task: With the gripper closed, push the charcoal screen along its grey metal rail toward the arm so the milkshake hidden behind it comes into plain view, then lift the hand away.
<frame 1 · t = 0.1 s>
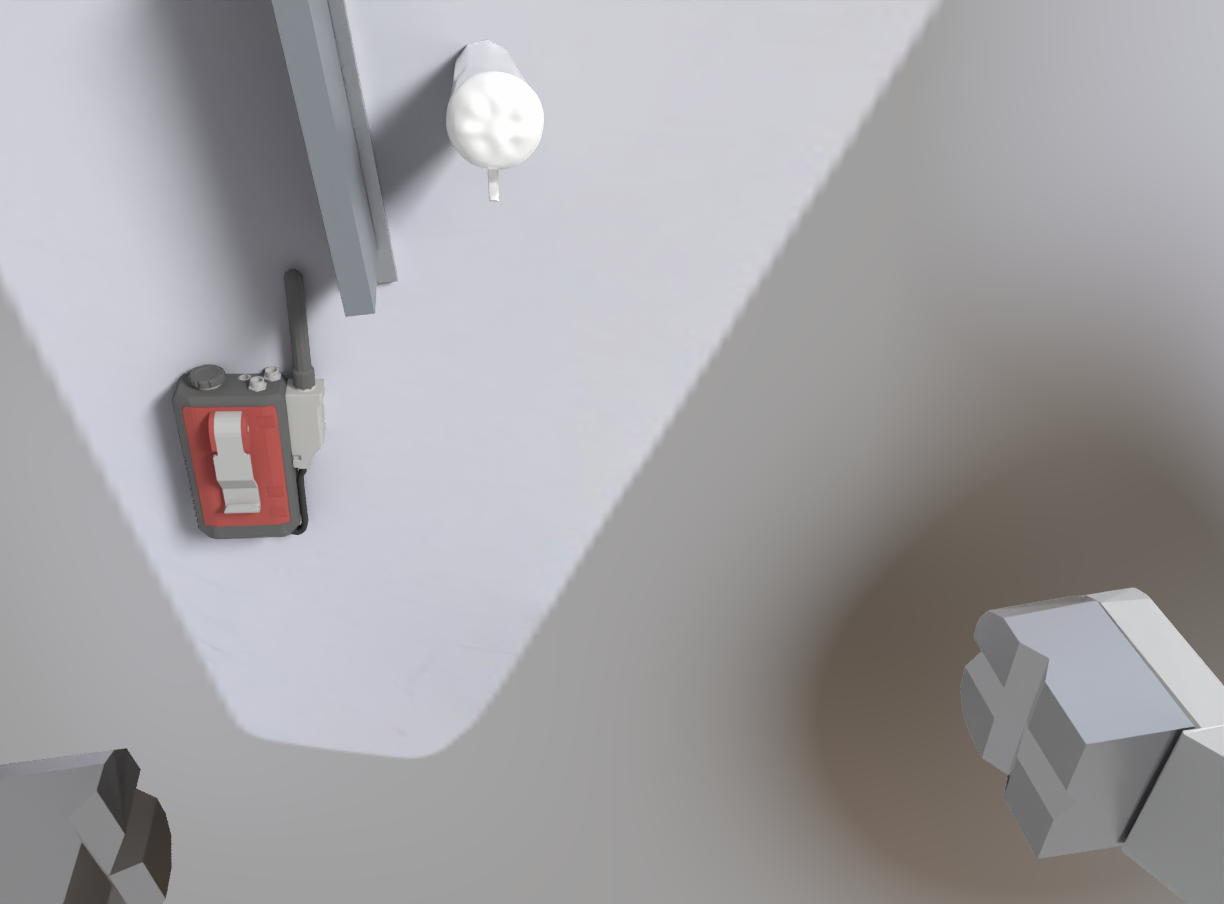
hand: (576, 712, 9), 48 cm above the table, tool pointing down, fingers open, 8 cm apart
screen: (322, 99, 47), point 4 cm above the table, slide at 0.0 cm
milkshake: (484, 78, 52), on the table
walkie-talkie: (255, 400, 62), on the table
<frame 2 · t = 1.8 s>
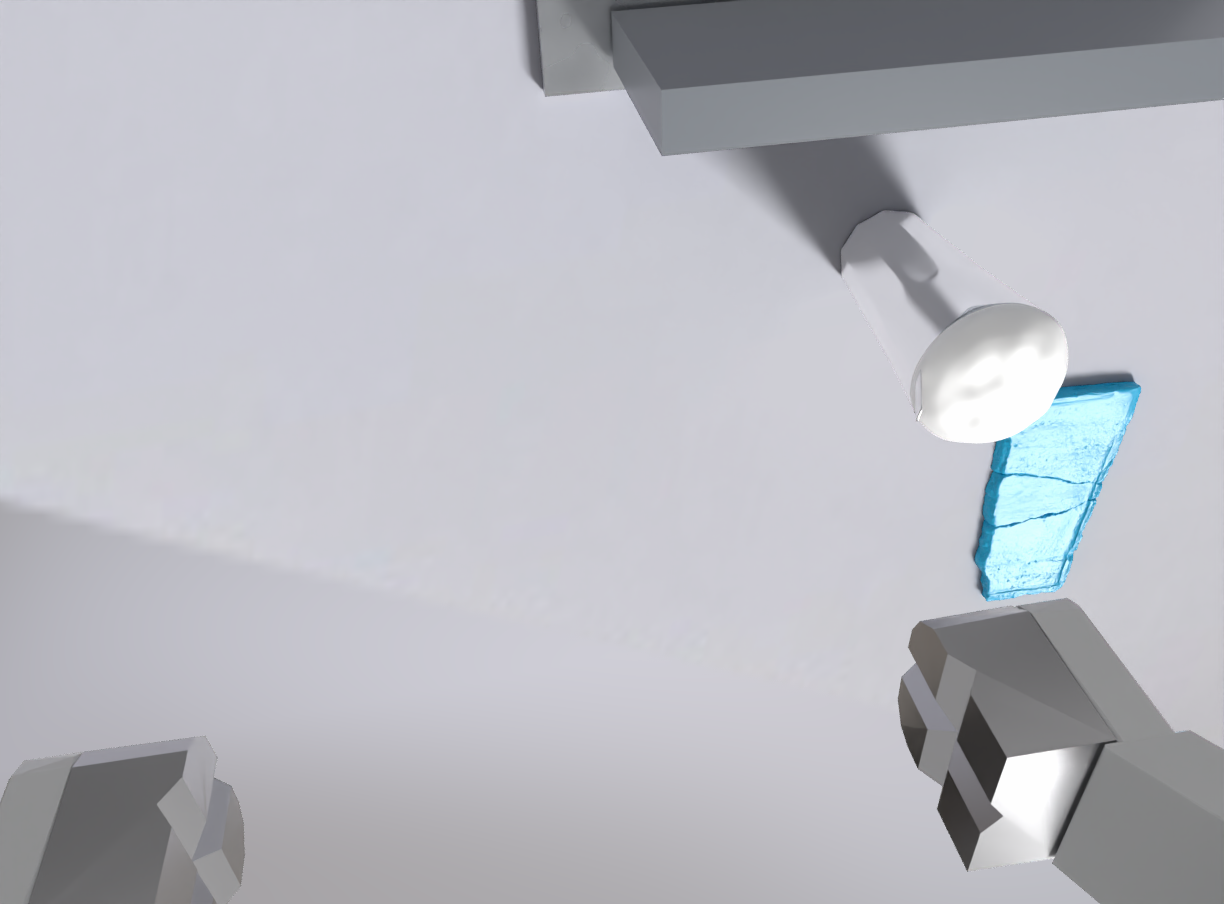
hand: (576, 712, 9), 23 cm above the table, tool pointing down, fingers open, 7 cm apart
screen: (1006, 42, 26), point 4 cm above the table, slide at 0.0 cm
milkshake: (870, 249, 34), on the table
sponge: (1025, 486, 43), on the table
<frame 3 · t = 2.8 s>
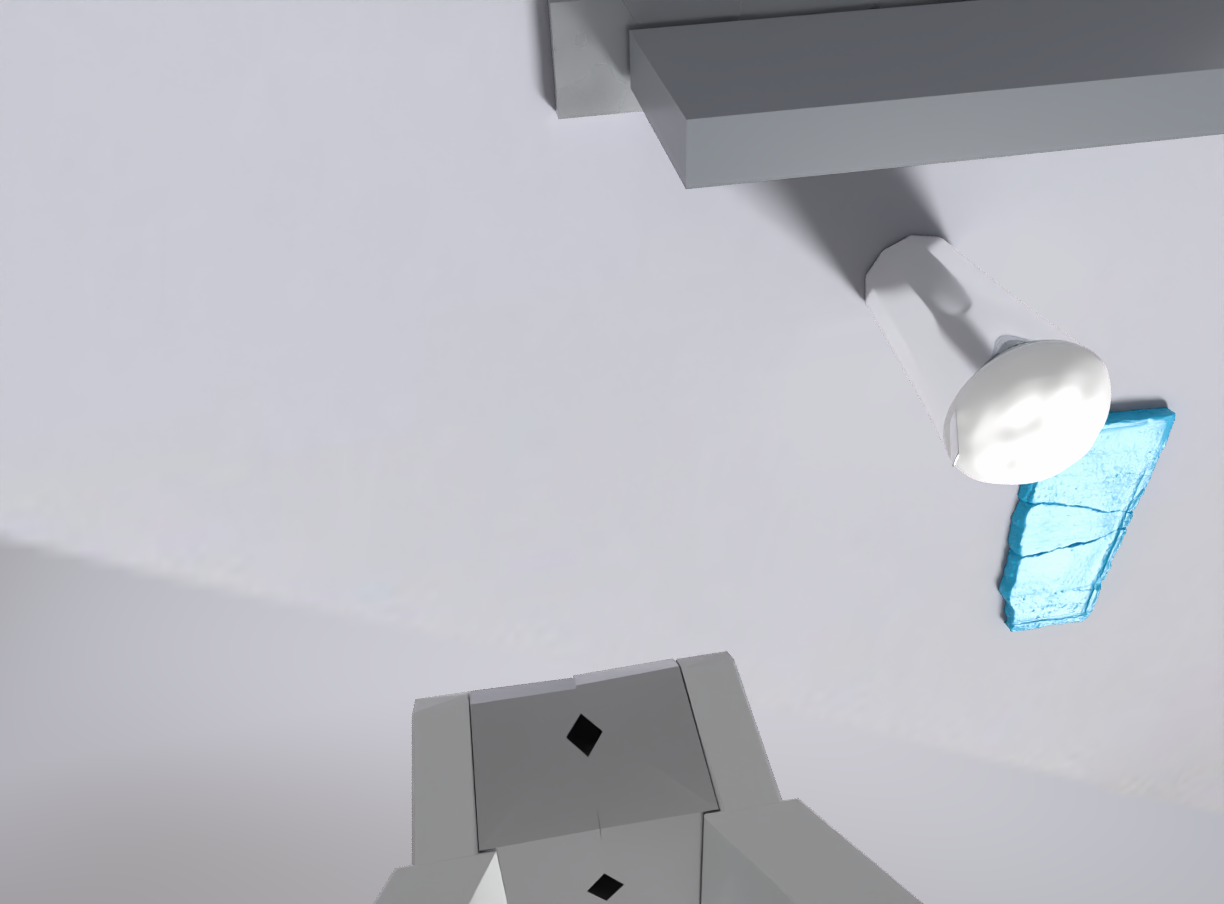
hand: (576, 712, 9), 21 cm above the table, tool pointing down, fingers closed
screen: (1049, 65, 24), point 4 cm above the table, slide at 0.0 cm
milkshake: (896, 274, 33), on the table
sponge: (1052, 513, 42), on the table
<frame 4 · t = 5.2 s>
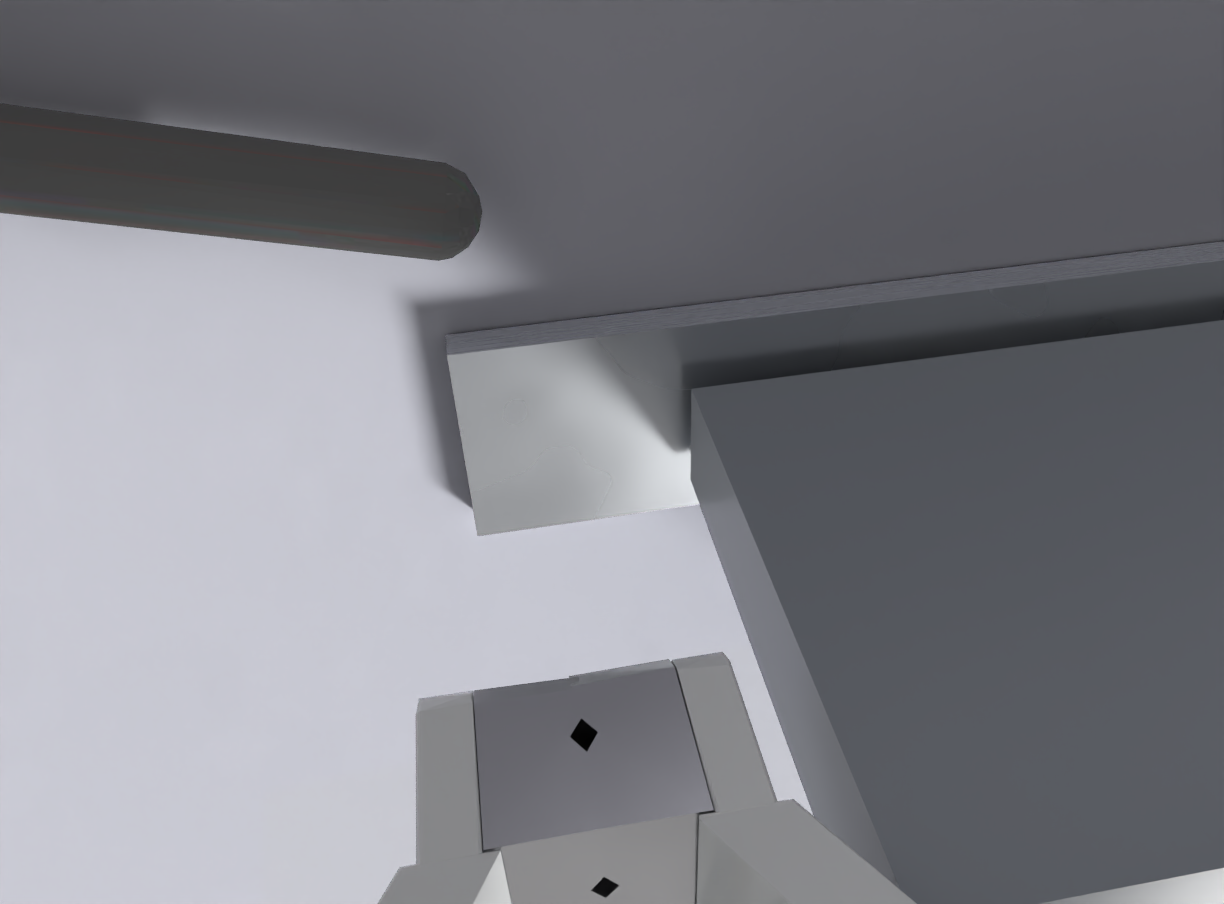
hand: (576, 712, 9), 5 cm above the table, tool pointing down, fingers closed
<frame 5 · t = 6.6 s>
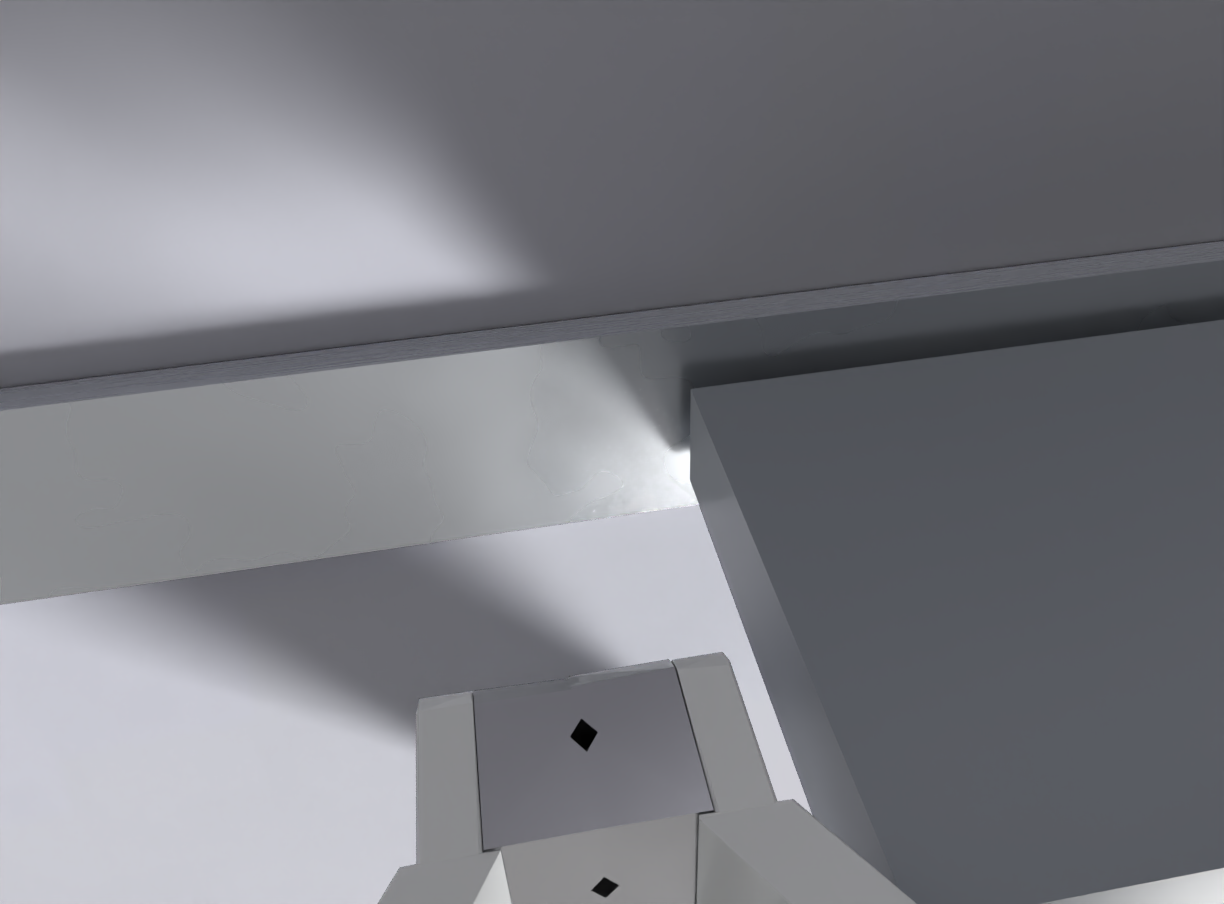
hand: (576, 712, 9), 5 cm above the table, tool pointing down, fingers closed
rail: (1197, 333, 14), on the table
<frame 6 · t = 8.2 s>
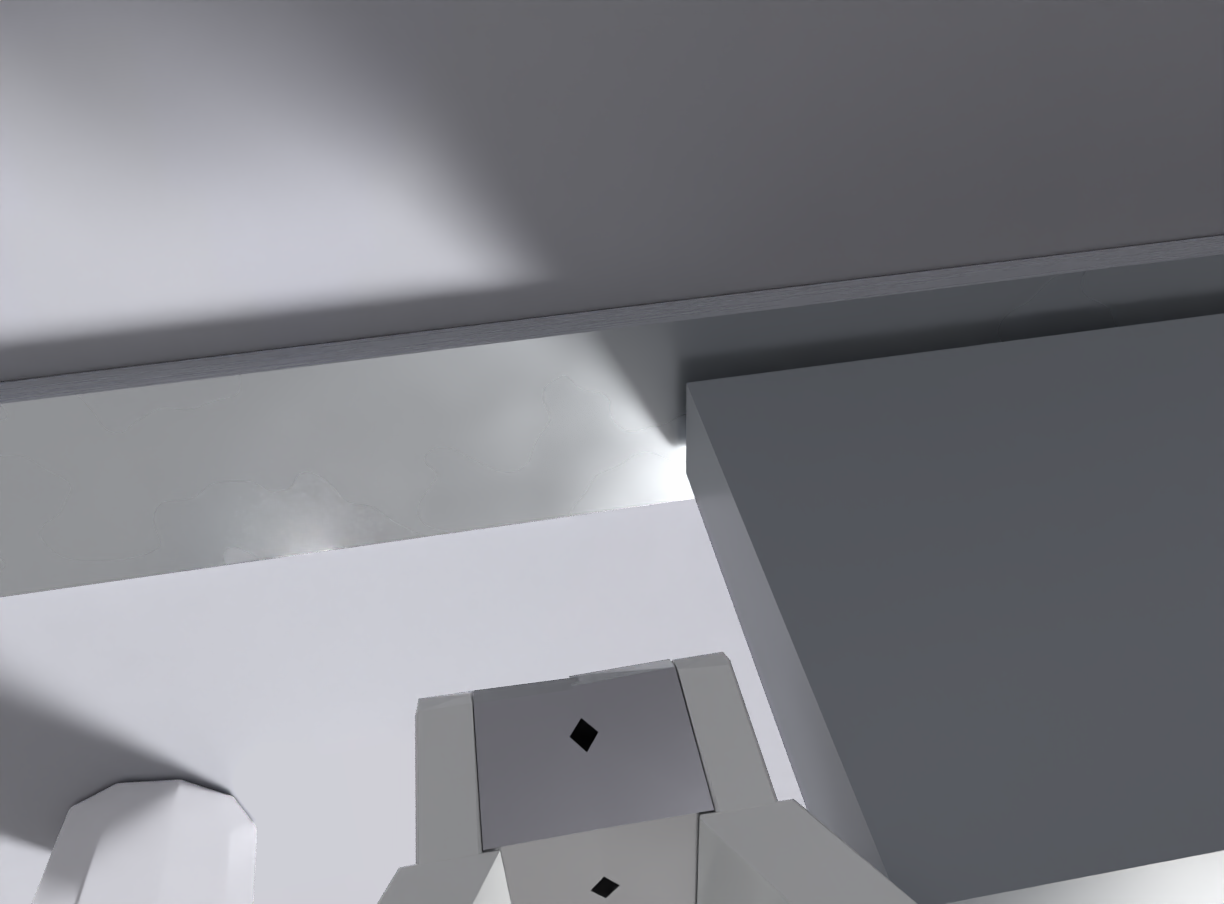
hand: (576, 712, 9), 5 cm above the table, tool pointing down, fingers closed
milkshake: (139, 822, 18), on the table
rail: (646, 399, 14), on the table
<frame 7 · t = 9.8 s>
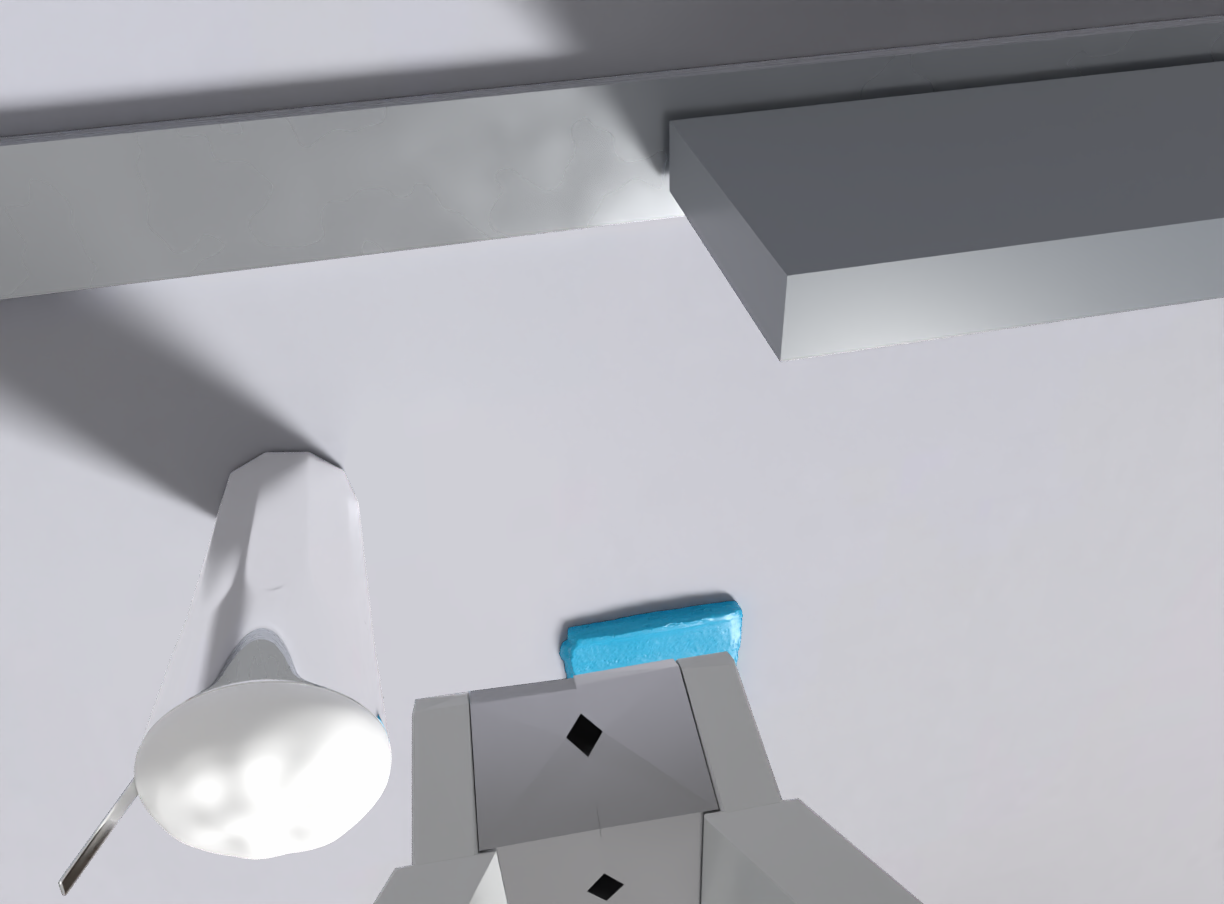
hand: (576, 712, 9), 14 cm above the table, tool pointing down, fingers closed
screen: (1212, 164, 19), point 4 cm above the table, slide at 19.0 cm
milkshake: (274, 495, 25), on the table
sponge: (641, 713, 34), on the table
rail: (636, 146, 21), on the table
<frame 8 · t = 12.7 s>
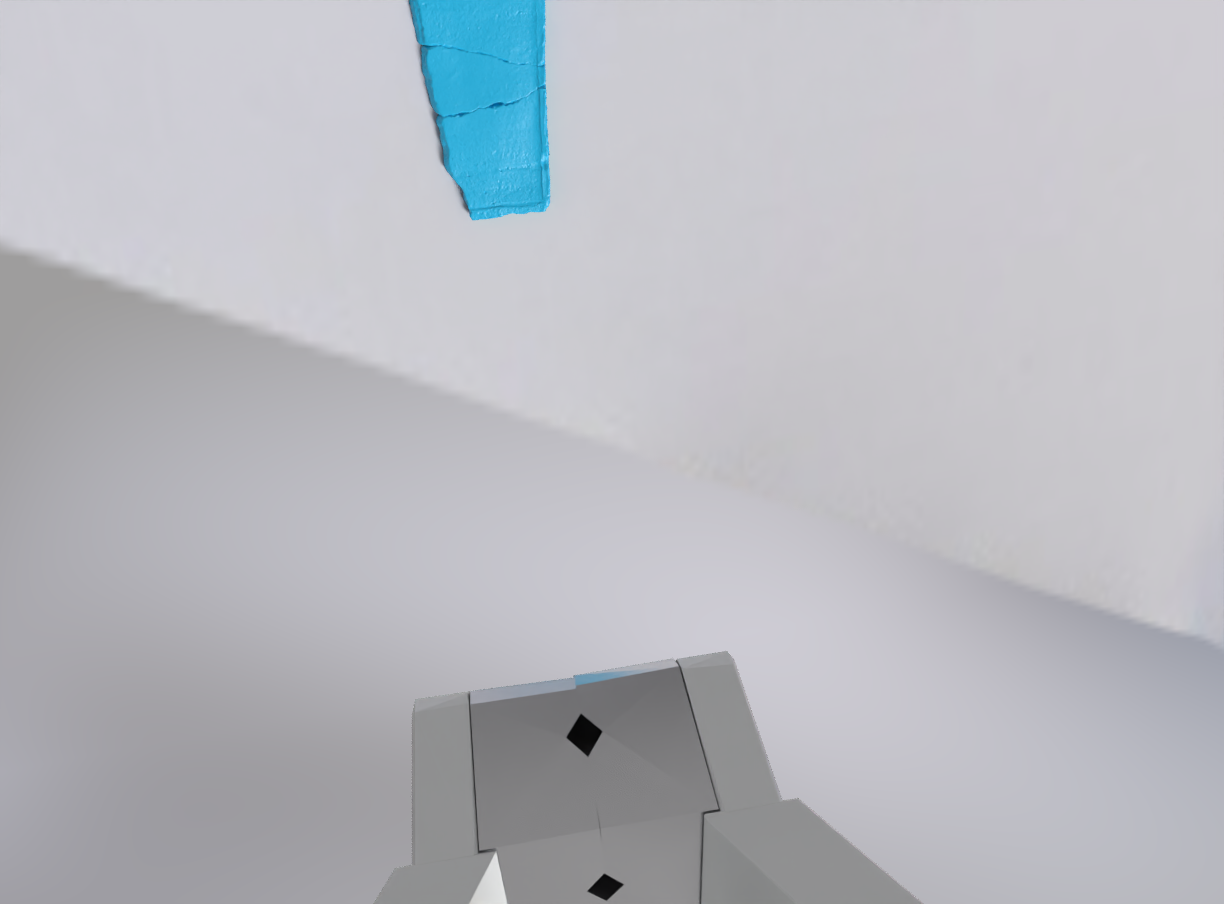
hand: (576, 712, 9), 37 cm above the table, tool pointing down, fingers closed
sponge: (481, 79, 42), on the table
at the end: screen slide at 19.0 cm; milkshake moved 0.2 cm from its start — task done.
